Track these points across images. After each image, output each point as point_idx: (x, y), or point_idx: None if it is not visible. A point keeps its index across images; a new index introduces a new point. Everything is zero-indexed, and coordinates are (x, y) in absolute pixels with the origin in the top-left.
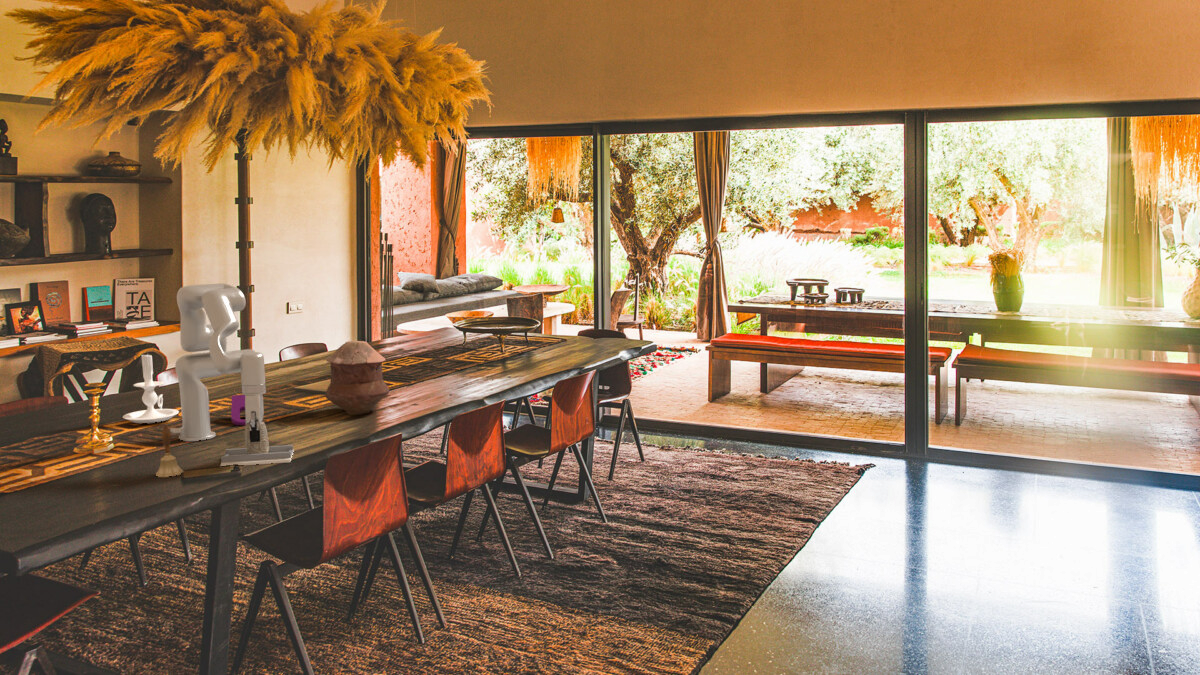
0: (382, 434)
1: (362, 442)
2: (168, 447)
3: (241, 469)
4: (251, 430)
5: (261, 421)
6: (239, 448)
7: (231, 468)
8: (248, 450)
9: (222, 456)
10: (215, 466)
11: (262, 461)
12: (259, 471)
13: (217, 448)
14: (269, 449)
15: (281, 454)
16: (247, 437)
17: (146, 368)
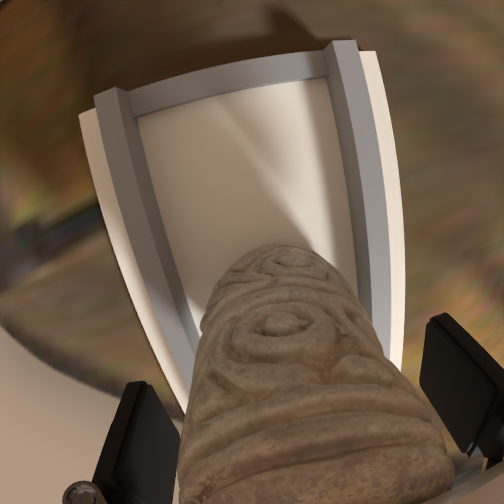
0: (472, 475)
1: None
2: None
3: (54, 267)
4: (88, 494)
5: (483, 470)
6: (376, 146)
7: (63, 199)
8: (215, 285)
9: (105, 100)
10: (108, 71)
11: (156, 356)
12: (48, 358)
13: (500, 5)
14: None
15: None
16: (202, 359)
17: None
